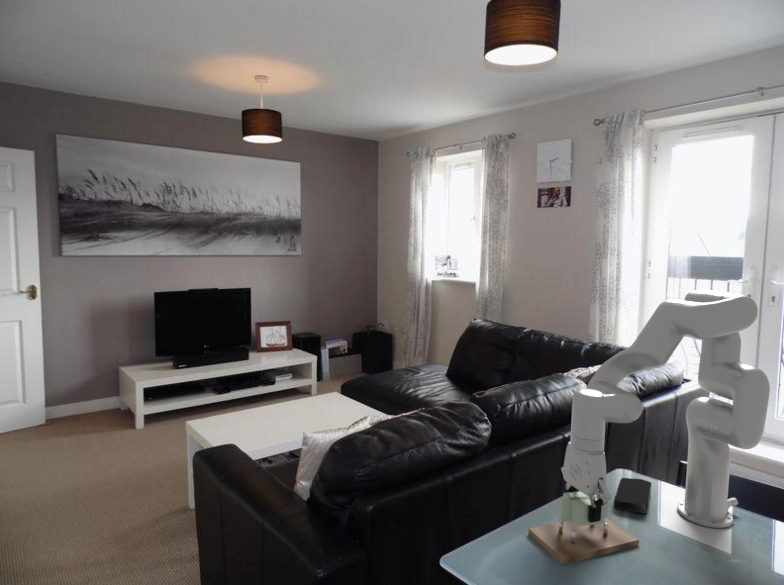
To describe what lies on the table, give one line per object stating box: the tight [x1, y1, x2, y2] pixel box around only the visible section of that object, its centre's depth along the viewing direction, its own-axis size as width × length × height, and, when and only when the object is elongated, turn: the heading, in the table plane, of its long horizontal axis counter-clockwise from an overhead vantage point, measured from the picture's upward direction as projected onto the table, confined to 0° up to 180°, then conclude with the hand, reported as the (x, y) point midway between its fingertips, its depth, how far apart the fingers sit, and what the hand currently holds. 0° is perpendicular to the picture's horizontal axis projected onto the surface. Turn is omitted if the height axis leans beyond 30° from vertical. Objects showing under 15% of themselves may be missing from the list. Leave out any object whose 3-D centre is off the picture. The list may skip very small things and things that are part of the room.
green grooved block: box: [558, 491, 609, 526], centre depth 126 cm, size 12×6×5 cm, turn 100°
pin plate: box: [527, 516, 640, 566], centre depth 127 cm, size 22×13×4 cm, turn 110°
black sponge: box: [613, 477, 652, 514], centre depth 146 cm, size 16×8×4 cm, turn 150°
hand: (583, 512), depth 126 cm, fingers closed on green grooved block, 7 cm apart
